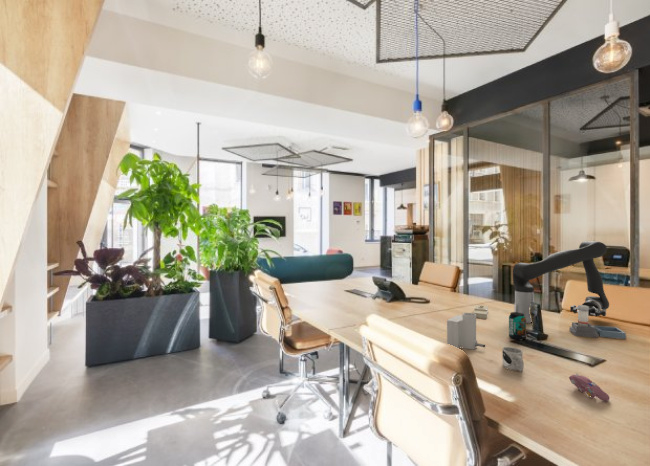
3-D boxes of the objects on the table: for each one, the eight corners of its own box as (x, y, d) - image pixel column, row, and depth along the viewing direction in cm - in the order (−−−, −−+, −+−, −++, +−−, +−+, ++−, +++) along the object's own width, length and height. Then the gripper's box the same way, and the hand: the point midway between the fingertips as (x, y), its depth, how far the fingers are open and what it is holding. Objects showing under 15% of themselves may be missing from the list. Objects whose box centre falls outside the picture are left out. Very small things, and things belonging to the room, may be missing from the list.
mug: (499, 363, 126) (499, 346, 126) (516, 363, 126) (516, 346, 126) (513, 375, 116) (513, 356, 116) (531, 375, 116) (531, 356, 116)
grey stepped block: (458, 339, 153) (458, 308, 153) (489, 347, 143) (489, 314, 143) (447, 346, 145) (446, 313, 144) (479, 355, 135) (479, 319, 134)
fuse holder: (575, 335, 157) (575, 326, 157) (569, 330, 165) (569, 321, 165) (598, 337, 153) (597, 328, 153) (591, 332, 161) (591, 323, 161)
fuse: (579, 330, 158) (579, 306, 158) (576, 328, 162) (576, 304, 162) (590, 331, 156) (590, 307, 156) (587, 329, 160) (587, 305, 160)
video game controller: (572, 391, 107) (563, 373, 106) (583, 385, 107) (575, 367, 107) (600, 408, 97) (591, 388, 97) (612, 400, 97) (603, 381, 97)
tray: (600, 336, 155) (600, 330, 155) (592, 330, 164) (592, 325, 164) (625, 339, 151) (625, 333, 151) (616, 332, 160) (616, 327, 160)
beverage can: (528, 341, 150) (528, 315, 150) (512, 340, 151) (512, 315, 151) (522, 336, 157) (522, 312, 157) (506, 335, 158) (506, 311, 158)
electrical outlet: (473, 311, 191) (475, 304, 207) (473, 317, 191) (475, 310, 207) (486, 312, 188) (487, 305, 203) (486, 319, 188) (488, 312, 204)
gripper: (575, 298, 179) (568, 303, 168) (608, 302, 168) (603, 308, 157) (575, 311, 179) (568, 317, 168) (608, 317, 168) (603, 323, 157)
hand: (585, 312), depth 163 cm, fingers open, 8 cm apart
